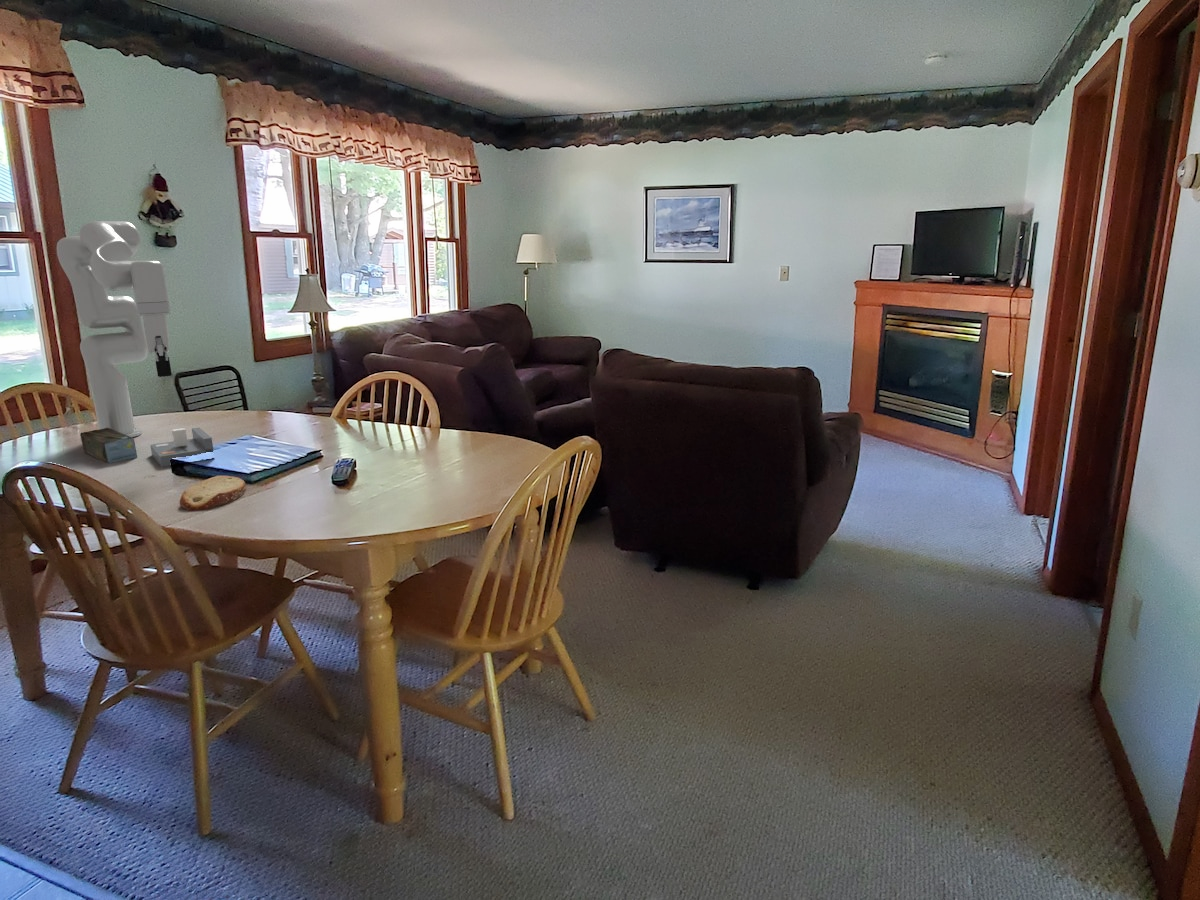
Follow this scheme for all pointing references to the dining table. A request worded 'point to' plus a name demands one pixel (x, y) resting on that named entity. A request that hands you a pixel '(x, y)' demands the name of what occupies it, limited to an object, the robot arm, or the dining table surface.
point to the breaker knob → (179, 437)
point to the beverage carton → (108, 445)
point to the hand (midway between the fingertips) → (164, 374)
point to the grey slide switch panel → (182, 448)
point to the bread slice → (212, 493)
